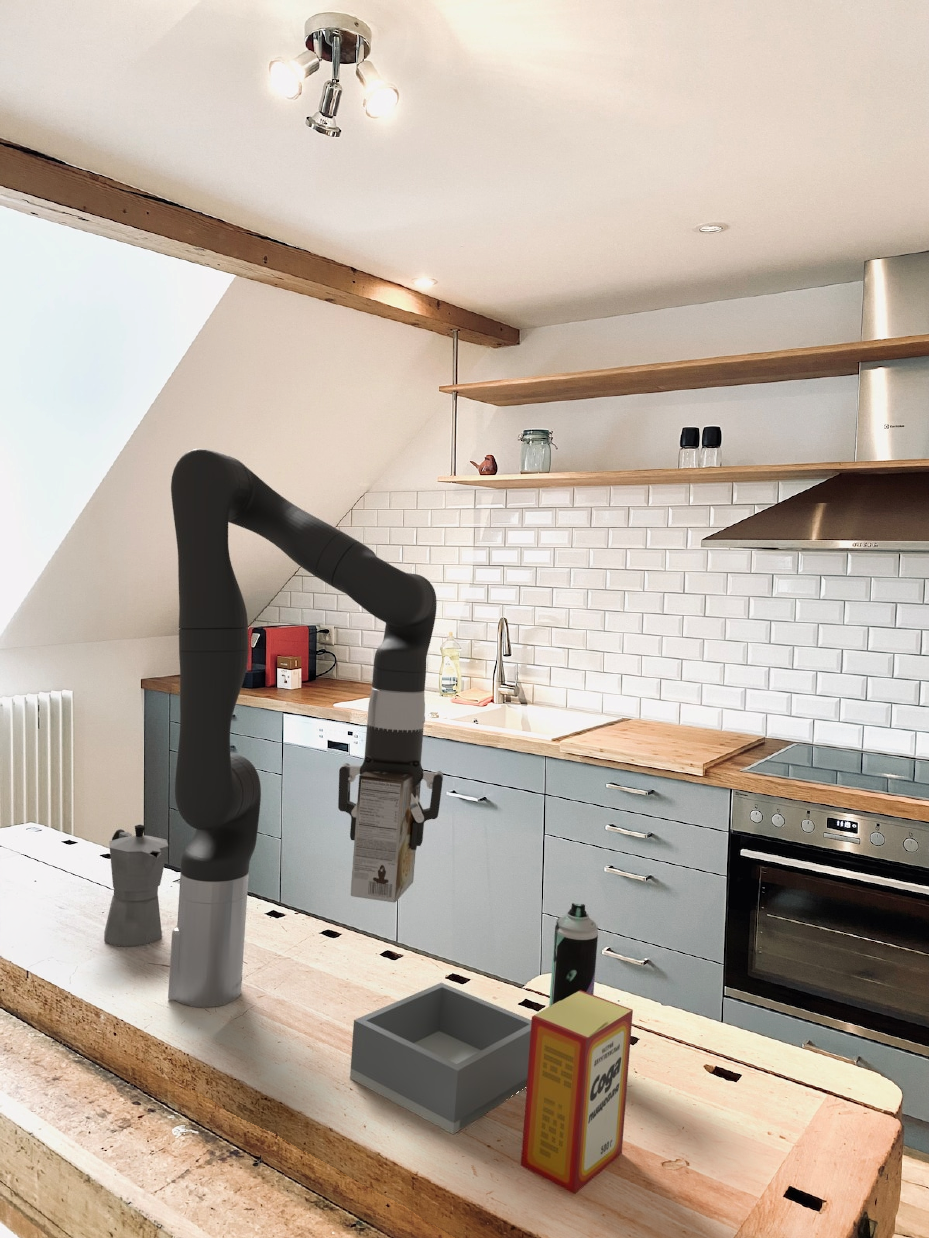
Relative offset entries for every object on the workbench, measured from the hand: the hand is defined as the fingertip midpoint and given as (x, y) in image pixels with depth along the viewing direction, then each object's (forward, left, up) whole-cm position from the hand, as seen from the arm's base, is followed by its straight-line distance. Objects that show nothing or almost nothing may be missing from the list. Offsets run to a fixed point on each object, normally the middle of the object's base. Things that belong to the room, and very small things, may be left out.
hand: (386, 845), depth 126 cm
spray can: (+25, -5, -24) cm, 36 cm away
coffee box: (0, 0, -6) cm, 6 cm away
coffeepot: (-42, +24, -24) cm, 54 cm away
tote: (+10, -13, -24) cm, 29 cm away
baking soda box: (+24, -27, -24) cm, 44 cm away
